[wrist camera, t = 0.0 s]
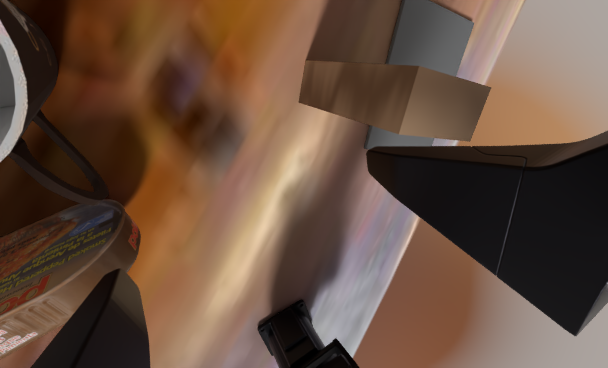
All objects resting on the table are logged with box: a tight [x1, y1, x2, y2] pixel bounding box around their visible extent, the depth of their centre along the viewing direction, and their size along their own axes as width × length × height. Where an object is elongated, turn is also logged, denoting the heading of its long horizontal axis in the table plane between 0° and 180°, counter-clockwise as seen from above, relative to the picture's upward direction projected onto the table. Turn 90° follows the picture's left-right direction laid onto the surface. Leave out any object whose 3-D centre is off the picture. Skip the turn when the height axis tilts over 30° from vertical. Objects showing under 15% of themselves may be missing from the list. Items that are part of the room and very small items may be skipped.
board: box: [299, 60, 491, 141], centre depth 21 cm, size 4×7×12 cm, turn 78°
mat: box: [364, 0, 474, 149], centre depth 30 cm, size 15×11×1 cm
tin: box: [0, 199, 141, 359], centre depth 16 cm, size 15×3×8 cm, turn 106°
